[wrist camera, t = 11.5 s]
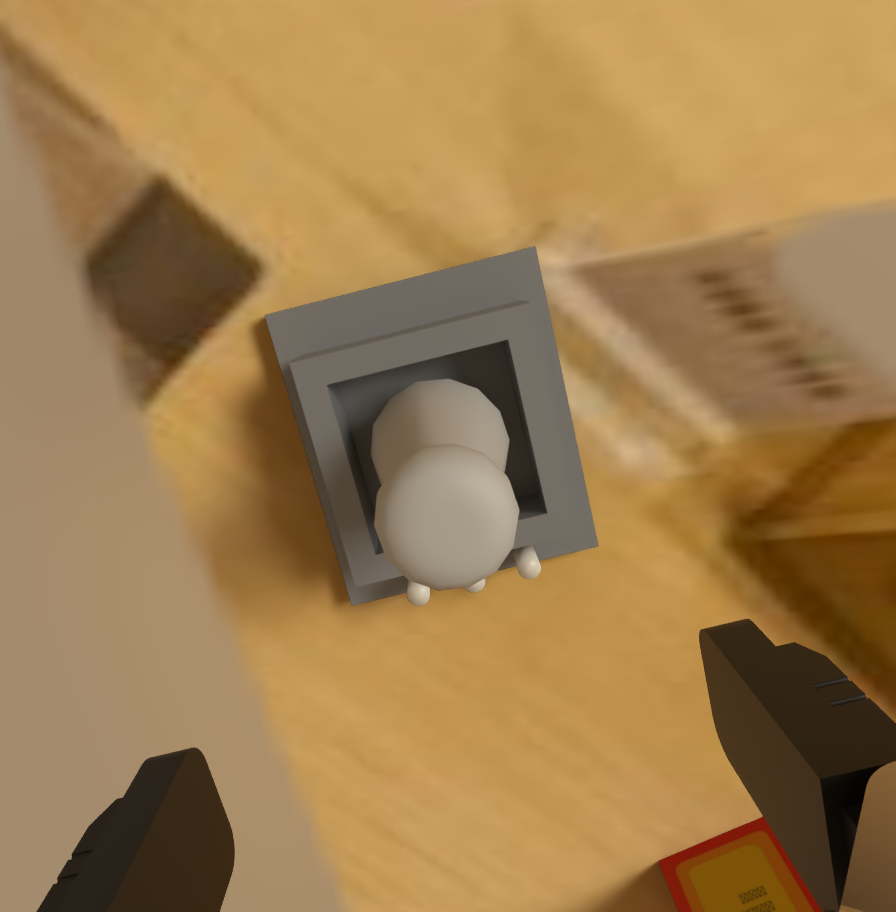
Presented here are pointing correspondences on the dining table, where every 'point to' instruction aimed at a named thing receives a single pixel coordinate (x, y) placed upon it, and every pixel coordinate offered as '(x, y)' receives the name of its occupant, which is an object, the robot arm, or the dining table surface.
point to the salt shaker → (443, 485)
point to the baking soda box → (737, 874)
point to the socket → (422, 359)
